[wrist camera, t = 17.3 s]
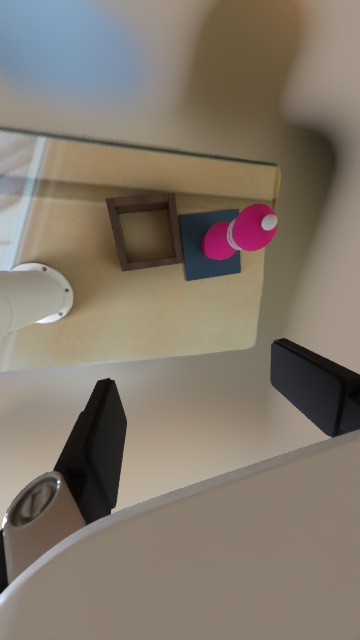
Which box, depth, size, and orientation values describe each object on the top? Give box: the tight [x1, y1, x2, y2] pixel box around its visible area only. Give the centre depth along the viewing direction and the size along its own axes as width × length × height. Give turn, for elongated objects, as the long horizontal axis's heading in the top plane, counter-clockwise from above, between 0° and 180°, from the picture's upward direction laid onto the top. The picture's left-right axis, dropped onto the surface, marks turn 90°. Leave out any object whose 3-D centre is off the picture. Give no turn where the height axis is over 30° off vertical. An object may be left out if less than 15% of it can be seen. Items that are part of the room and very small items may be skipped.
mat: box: [179, 209, 241, 281], centre depth 40 cm, size 14×14×1 cm
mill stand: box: [106, 193, 183, 271], centre depth 35 cm, size 13×13×4 cm
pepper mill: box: [201, 204, 277, 260], centre depth 30 cm, size 7×7×20 cm
